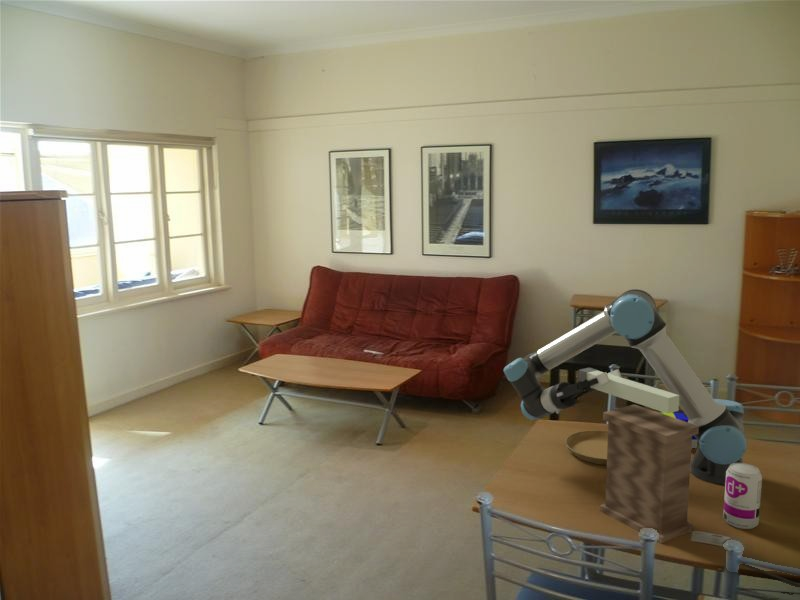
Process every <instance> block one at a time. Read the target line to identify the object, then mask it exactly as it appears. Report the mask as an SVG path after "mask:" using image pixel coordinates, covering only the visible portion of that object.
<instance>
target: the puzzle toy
mask: <svg viewBox="0 0 800 600" xmlns="http://www.w3.org/2000/svg"><path fill="white" fill-rule="evenodd" d="M660 413H662V414H665V415H668V416H670V417H673V418H676V419H679V420H682V421H685V422H688V420H689V418H688V417H687V415H686V414H685V413H684V411H683V410H682V409H679V411H675V412H672V413H665V412H662V411H660ZM691 448H698V440H697V439H696V438H695V436H694V435H693V436H692V446H691Z"/></svg>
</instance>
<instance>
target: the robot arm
mask: <svg viewBox="0 0 800 600" xmlns="http://www.w3.org/2000/svg"><path fill="white" fill-rule="evenodd" d="M667 326H668V325H667V323H666V322H665V321H664V319H663V318H662V316H661V315H660V313H659V311H658V310H657V305H656V301H655V299H654V297H653V296H652V295H651V294H650V293H649V292H647V291H645V290H642V289H637V288H635V289H633V288H632V289H629V290H627V291H624V292H623V293H622V294H620V295H619V296H618V297H617V298H615V300H613V301H611V302H610V303H608V304H606V305H605V306H604V309H603V311H601V312H599V313H598V314H596V315H594V316H592V317H591V318H590V319H588V320H586V321H584V322H582V323H581V324H580V325H578V326H576V327H574V328H573V329H571V330H569V331H568V332H566V333H564V334H563V335H561V336H559V337H557V338H556V339H554V340H553V341H551V342H549V343H547V344H545V345H544V346H543V347H541V348H538V350H536V351H534V352H532V353H529V354H527V355H525V356H524V357H523V358H522V357H518V358H516V359H515V360H513V361H512V362H510V363H509V364H507V365H506V366H504V368H503V373H504V375H505V377H506V379H507V381H509V382H510V385H512V387H513V389H514V390H515V391H516V393H517V395H518V396H519V397H520V400H521V403H520V409H521V413H522V415H523V416H524V417H525V418H527V419H529V420H532V421H533V420H534V421H535V420H538V419H544V418H545V417H547V416H549V415H552V414H554V413H555V414H557V415H558V414H560V411H563V410H566V409H569V408H571V407H573V406H575V404H576V403H577V402H578V401H577V400H578V399H579V398H581V397H583V396H585V395H586V394H587V395H588V394H589V393H592V392H593V391H597V390H596V389H593V388H595V387H597V386H600V385H602V384H605V383H607V382H610V380H609V378H608V375H607V374H611V375H614V376H617V377H621V378H623V377H622V374H621V372H620V369H619V368H618V369H615V370H612V371H610V372H608V373H607V372H606V371H605V372H604V373H602V374H599V375H597V376H594V377H592V378H590V379H589V381H588V380H584V381H583V382H582V381H581V382H580V381H579V382H578V381H577V382H575V383H574V384H571V383H570V382H566V381H563V382H562V381H561V382H559V383H557V384H555V385H552V386H550V387H547V388H544V387H543V386H542V384H541V383H540V380H538V378H539V377H541V376H543V375H544V374H546V373H547V372H550V371H551V370H552V369H554V368H555V367H558V366H559V365H561V364H563V363H565V362H567V361H568V360H570V359H572V358H574V357H576V356H577V355H579V354H581V353H582V352H583V351H585V350H587V349H589V348H591V347H593V346H595V345H597V344H598V343H600V342H601V341H604V340H605V339H607V338H609V337H610V336H613V334H615V333H617V334H618V335H620V337H623V338H624V339H625V341H626V342H627V343H628V344H629V346H630V348H633V349H637V350H639V352H641V354H642V355H643V356H644V358H645V359H646V361H647V362H648V364H649V365H650V366H651V367H652V369H653V371H654V372H655V373H656V375H657V376H658V378H659V379H660V380H661V382H662V384H663V385H664V386H665V387H666V389H667V391H668V392H671V393H674V394H677V395H679V408H681V410H683V411H684V413H685V414H686V415H687V417H688V418H689V420H688V423H691V424H694V425H697V426H699V431H698V434H696V435H694V436H695V438H696V439H697V449H695V453H694V455H693V457H692V459H691V463H690V474H692V475H693V476H695V477H696V478H698V479H700V480H703V481H705V482H708V483H712V484H713V483H714V484H719V485H725V482H726V471H727V469H728V468H729V466H730V464H733V463H744V461H743V456H744V455H745V453H746V450H747V447H748V444H747V443H748V440H747V437H746V434H745V429H744V422H743V421H744V414H745V412H744V406H743V404H742V403H740V402H737V401H734V400H728V399H722V398H721V399H720V398H713V396H712V395H711V394H710V393H709V391H708V390H707V389H706V387H705V385H704V384H703V383H702V381H701V380H700V378H699V377H698V376H697V374H696V373H695V371H694V370H693V368H691V366H690V365H689V363H688V362H687V360H686V359H685V358H684V357H683V354H681V352H680V351H679V349H678V348H677V346H676V345H675V344H674V342H673V341H672V339H671V338H670V336H668V334H667ZM590 386H591V387H592V388H591V387H590Z"/></svg>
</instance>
